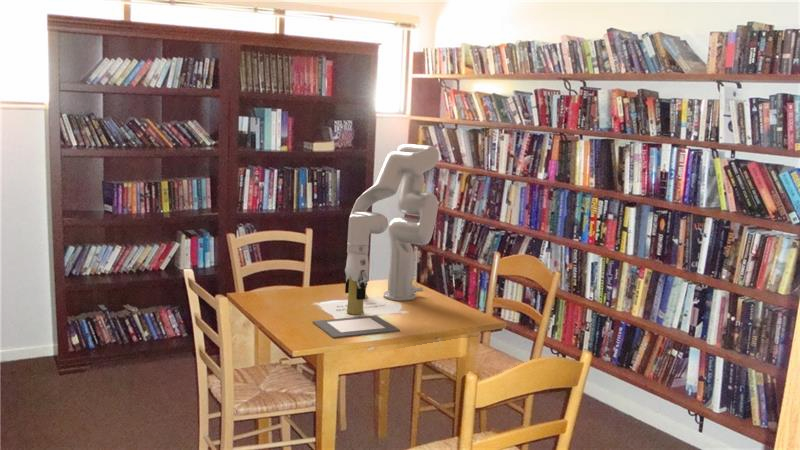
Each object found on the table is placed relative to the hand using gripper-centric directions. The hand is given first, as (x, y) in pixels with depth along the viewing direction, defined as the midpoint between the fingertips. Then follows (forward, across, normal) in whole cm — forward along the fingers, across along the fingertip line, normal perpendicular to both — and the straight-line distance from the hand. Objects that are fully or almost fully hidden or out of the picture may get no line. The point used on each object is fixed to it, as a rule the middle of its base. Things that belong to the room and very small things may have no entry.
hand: (354, 296), depth 261 cm
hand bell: (+6, +20, -11) cm, 24 cm away
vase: (+6, 0, -1) cm, 6 cm away
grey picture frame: (+6, -16, +6) cm, 18 cm away
